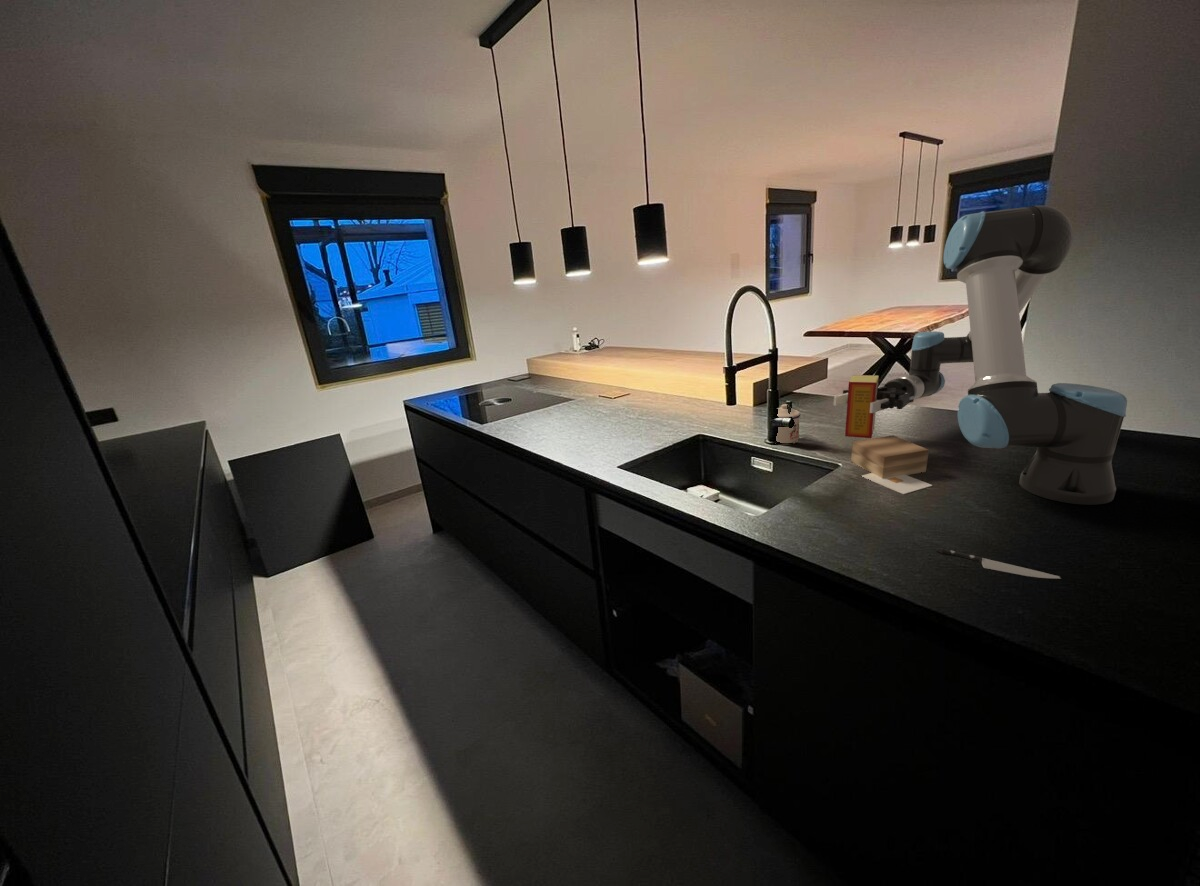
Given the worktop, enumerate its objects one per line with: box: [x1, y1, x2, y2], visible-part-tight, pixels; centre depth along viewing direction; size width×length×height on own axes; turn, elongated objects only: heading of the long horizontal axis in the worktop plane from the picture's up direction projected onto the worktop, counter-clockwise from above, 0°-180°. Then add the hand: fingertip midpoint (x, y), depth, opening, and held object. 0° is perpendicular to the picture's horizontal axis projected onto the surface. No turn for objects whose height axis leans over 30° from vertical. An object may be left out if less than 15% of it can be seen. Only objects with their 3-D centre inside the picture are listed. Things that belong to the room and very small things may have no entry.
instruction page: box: [861, 472, 933, 495], centre depth 116 cm, size 12×9×1 cm
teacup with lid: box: [776, 403, 801, 443], centre depth 149 cm, size 12×9×12 cm
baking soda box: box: [844, 374, 880, 439], centre depth 134 cm, size 10×6×16 cm
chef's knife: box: [935, 547, 1062, 579], centre depth 82 cm, size 19×1×3 cm
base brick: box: [850, 434, 930, 478], centre depth 123 cm, size 12×12×6 cm
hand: (852, 404), depth 132 cm, fingers closed on baking soda box, 10 cm apart
